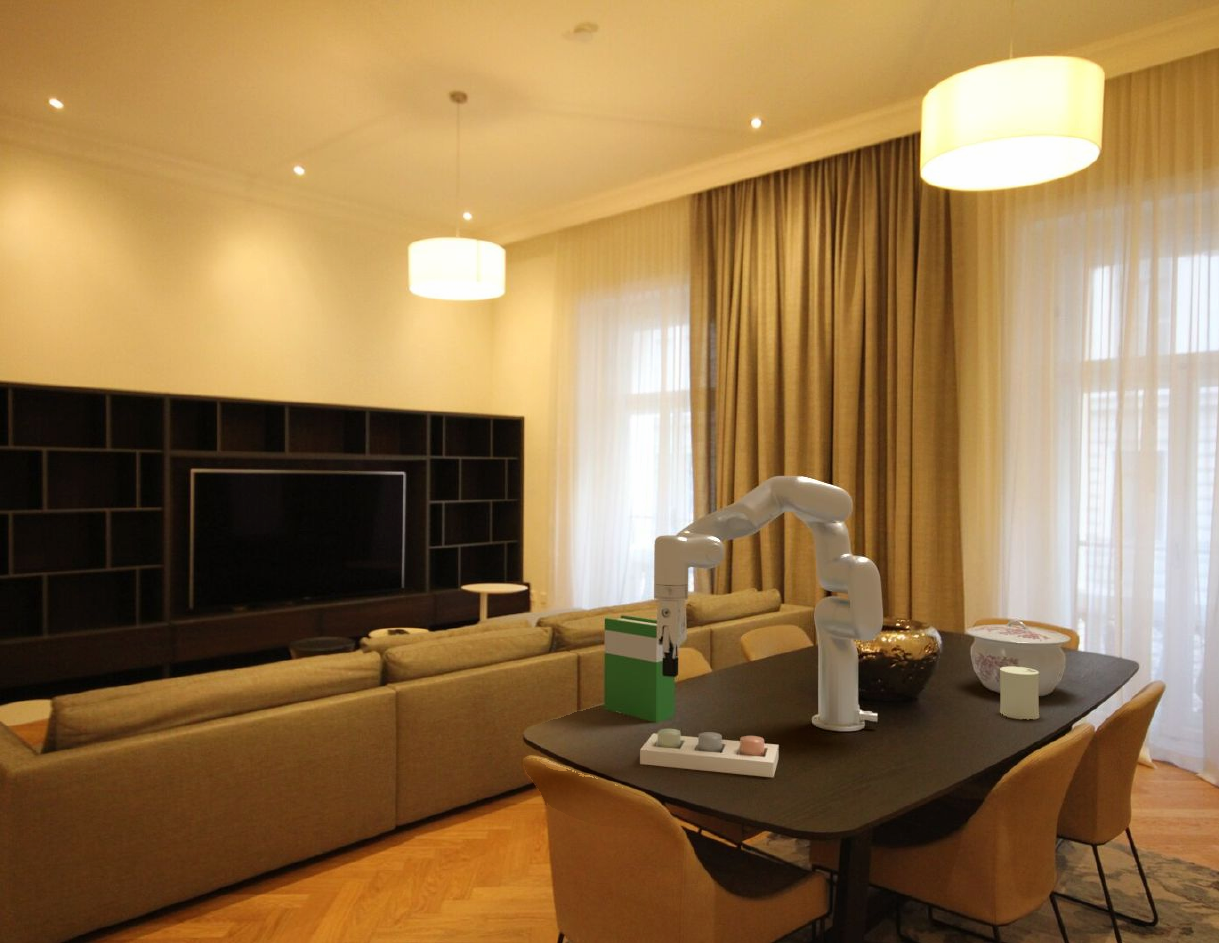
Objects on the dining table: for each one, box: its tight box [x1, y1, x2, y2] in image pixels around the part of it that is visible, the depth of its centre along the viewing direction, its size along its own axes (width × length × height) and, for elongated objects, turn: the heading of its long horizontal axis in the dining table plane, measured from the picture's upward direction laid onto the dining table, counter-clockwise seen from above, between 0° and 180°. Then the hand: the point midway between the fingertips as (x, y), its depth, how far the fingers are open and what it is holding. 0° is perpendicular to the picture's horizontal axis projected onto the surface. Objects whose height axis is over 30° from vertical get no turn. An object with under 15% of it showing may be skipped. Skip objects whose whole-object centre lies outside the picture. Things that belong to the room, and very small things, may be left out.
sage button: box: [657, 728, 682, 749], centre depth 180 cm, size 5×5×4 cm
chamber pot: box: [964, 619, 1072, 698], centre depth 238 cm, size 28×28×21 cm
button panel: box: [639, 732, 780, 778], centre depth 178 cm, size 28×12×3 cm, turn 74°
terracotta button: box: [739, 735, 765, 757], centre depth 175 cm, size 5×5×4 cm
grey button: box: [698, 731, 723, 753], centre depth 178 cm, size 5×5×4 cm
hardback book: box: [603, 614, 676, 723], centre depth 215 cm, size 18×7×24 cm, turn 48°
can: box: [999, 667, 1040, 721], centre depth 214 cm, size 9×9×12 cm
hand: (670, 675), depth 181 cm, fingers closed
